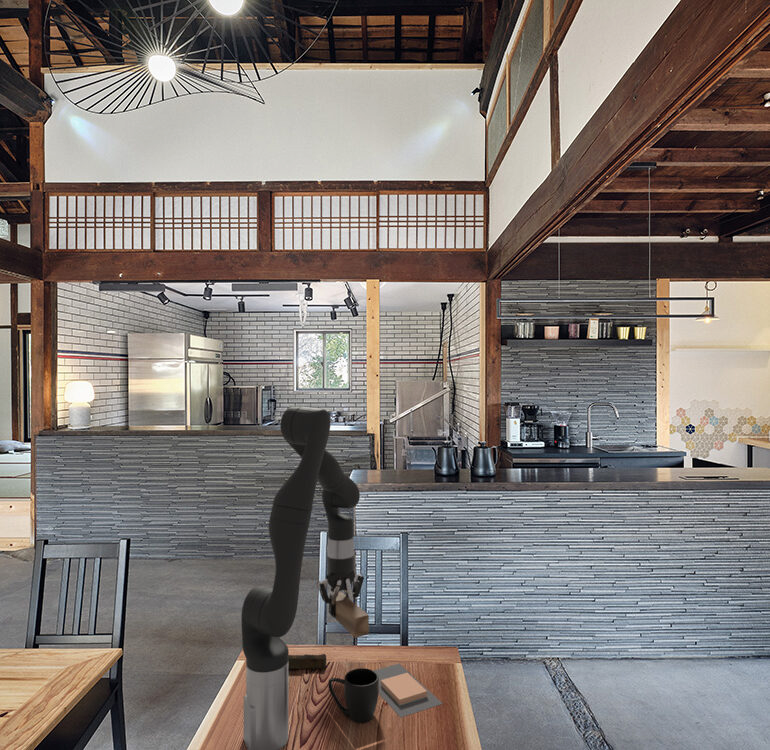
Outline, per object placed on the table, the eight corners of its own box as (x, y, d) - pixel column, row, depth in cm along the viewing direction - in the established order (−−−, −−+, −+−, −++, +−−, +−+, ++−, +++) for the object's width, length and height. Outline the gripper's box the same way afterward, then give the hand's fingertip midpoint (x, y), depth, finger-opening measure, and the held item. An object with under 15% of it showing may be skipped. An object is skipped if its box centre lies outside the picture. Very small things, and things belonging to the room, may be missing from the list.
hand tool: (327, 665, 152) (327, 649, 152) (325, 673, 148) (325, 656, 148) (261, 664, 153) (261, 648, 153) (257, 672, 149) (257, 655, 149)
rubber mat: (400, 719, 127) (400, 717, 127) (360, 675, 146) (360, 674, 146) (442, 705, 133) (442, 703, 133) (399, 664, 152) (399, 663, 152)
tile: (380, 686, 140) (399, 706, 131) (380, 680, 140) (399, 699, 131) (407, 678, 144) (427, 697, 135) (407, 672, 144) (427, 691, 135)
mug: (332, 705, 133) (332, 666, 133) (380, 708, 131) (380, 668, 132) (325, 726, 124) (325, 684, 125) (376, 729, 123) (376, 687, 123)
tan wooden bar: (354, 637, 138) (354, 618, 138) (328, 612, 154) (328, 594, 154) (368, 634, 140) (368, 615, 140) (341, 609, 156) (341, 592, 156)
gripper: (321, 561, 145) (321, 625, 145) (369, 553, 152) (369, 614, 152) (312, 553, 152) (312, 614, 152) (358, 546, 159) (358, 605, 158)
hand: (340, 614), depth 152 cm, fingers closed on tan wooden bar, 4 cm apart
